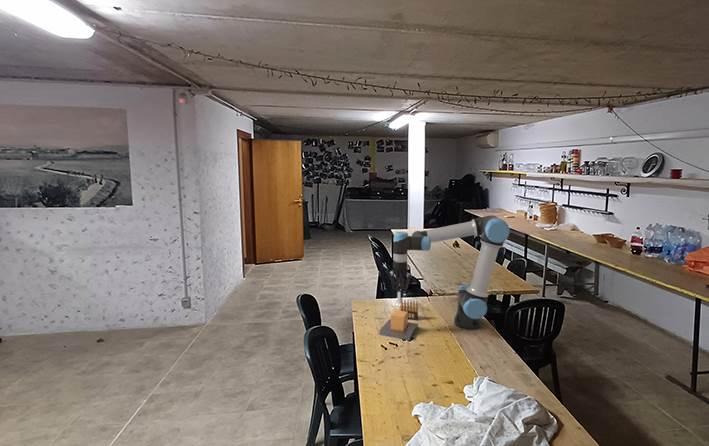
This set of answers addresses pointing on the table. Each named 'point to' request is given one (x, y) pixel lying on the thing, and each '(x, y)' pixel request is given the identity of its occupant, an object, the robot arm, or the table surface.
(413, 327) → the socket plate
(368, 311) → the table surface
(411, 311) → the ammunition clip
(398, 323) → the cardboard-colored brick
